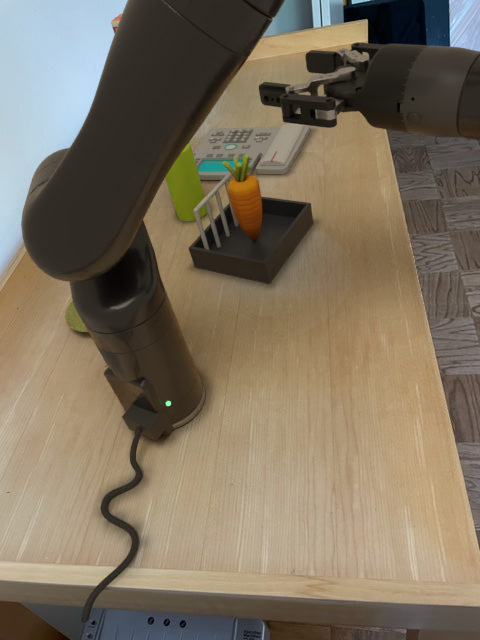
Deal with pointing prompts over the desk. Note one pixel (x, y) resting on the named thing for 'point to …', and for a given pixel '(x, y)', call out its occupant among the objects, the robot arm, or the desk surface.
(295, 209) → the drying rack
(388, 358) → the desk surface
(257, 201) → the carrot
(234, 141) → the office telephone
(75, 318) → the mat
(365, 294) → the desk surface
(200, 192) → the soap dispenser
